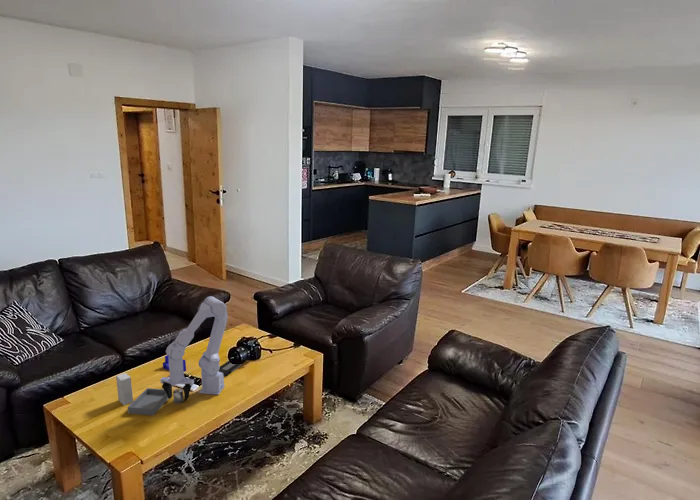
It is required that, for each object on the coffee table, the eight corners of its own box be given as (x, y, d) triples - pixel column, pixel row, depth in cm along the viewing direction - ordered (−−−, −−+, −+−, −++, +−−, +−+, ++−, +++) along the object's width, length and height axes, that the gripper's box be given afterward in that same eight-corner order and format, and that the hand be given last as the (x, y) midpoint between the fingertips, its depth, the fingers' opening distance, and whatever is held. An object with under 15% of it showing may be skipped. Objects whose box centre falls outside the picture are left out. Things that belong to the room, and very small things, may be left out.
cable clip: (163, 368, 227) (162, 357, 226) (170, 364, 231) (169, 354, 230) (178, 374, 221) (177, 363, 220) (186, 371, 225) (185, 360, 224)
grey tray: (171, 395, 202) (170, 389, 202) (153, 415, 188) (152, 409, 187) (147, 394, 203) (147, 388, 203) (128, 413, 189) (127, 407, 188)
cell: (185, 399, 200) (184, 388, 199) (181, 404, 196) (180, 392, 195) (176, 398, 200) (175, 387, 199) (172, 403, 197) (171, 392, 195)
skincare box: (133, 401, 197) (131, 377, 194) (123, 405, 194) (120, 380, 191) (128, 396, 201) (125, 372, 198) (118, 400, 198) (115, 375, 195)
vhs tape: (243, 365, 233) (243, 361, 232) (225, 377, 220) (225, 374, 219) (231, 362, 236) (231, 358, 235) (213, 374, 223) (213, 371, 222)
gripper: (155, 373, 192) (158, 402, 195) (188, 376, 190) (190, 404, 193) (164, 365, 199) (166, 393, 202) (195, 368, 197) (197, 395, 200)
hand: (178, 398), depth 198 cm, fingers open, 7 cm apart
